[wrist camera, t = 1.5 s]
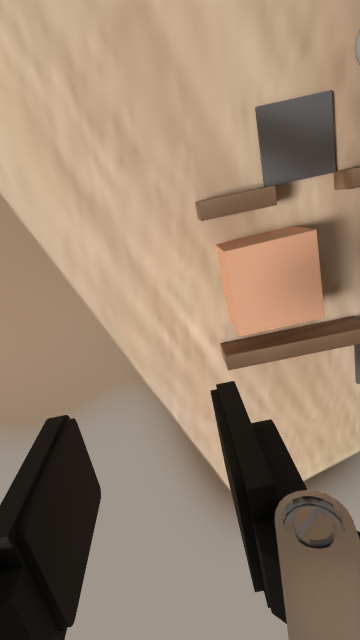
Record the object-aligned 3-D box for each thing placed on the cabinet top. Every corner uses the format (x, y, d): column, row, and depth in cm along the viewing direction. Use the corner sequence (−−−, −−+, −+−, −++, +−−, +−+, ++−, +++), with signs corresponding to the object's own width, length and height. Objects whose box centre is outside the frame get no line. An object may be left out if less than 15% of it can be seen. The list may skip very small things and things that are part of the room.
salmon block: (215, 244, 26) (224, 251, 22) (293, 225, 26) (316, 229, 22) (229, 318, 28) (239, 336, 24) (302, 301, 27) (324, 316, 24)
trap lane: (181, 124, 23) (183, 115, 20) (511, 51, 22) (552, 33, 20) (231, 407, 30) (237, 424, 28) (481, 356, 30) (509, 370, 27)
